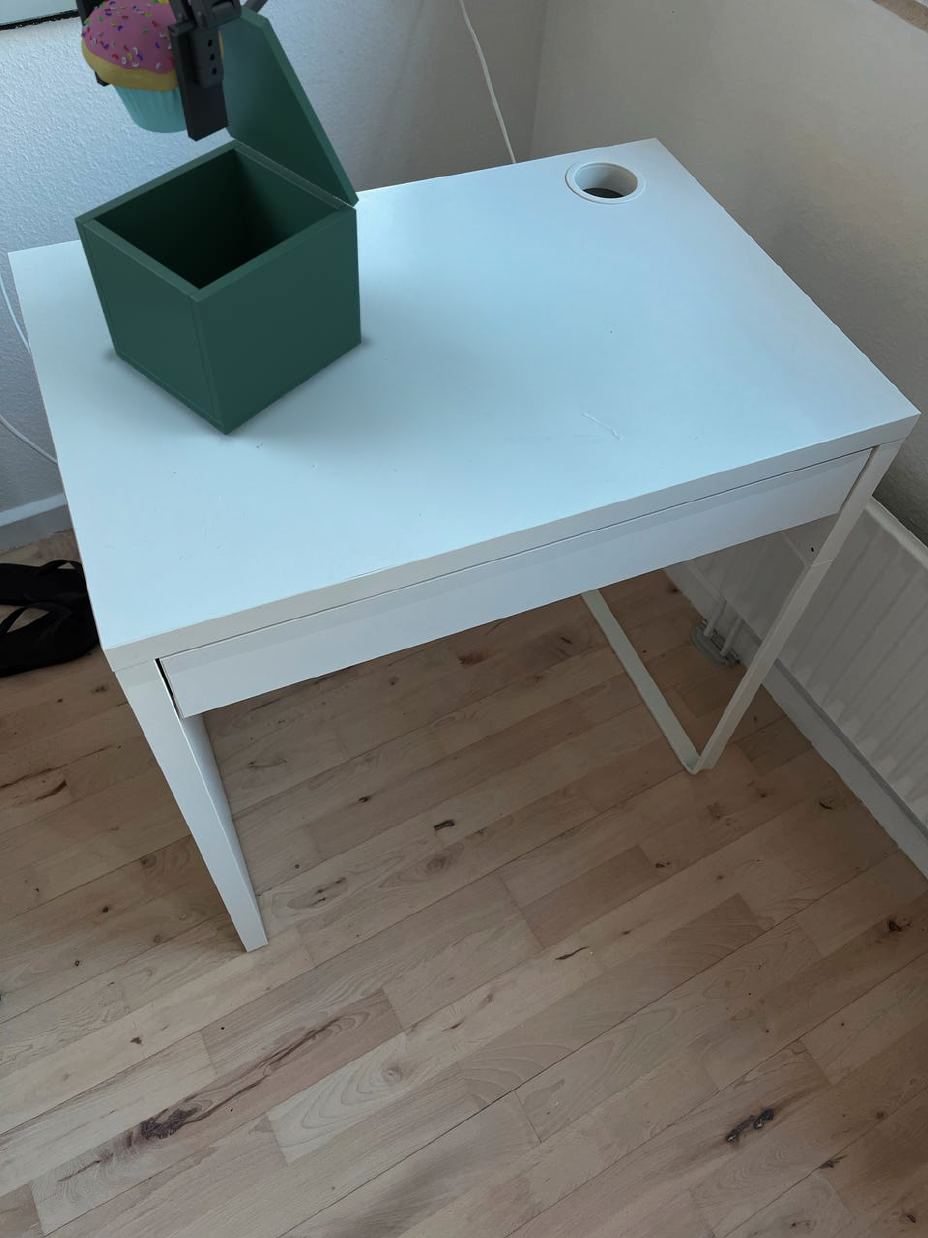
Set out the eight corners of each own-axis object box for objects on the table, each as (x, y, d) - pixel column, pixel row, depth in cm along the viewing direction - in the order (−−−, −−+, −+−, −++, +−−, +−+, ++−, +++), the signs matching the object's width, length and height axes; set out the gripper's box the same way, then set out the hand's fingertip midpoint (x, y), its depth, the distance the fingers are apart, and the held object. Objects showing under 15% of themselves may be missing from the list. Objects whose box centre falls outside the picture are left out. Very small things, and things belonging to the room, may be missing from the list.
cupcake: (221, 77, 65) (190, -134, 55) (244, 142, 61) (214, -73, 51) (94, 89, 63) (37, -126, 54) (107, 158, 59) (49, -63, 49)
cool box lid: (260, 27, 57) (345, -78, 58) (113, -48, 62) (193, -145, 62) (353, 207, 73) (419, 124, 73) (230, 136, 78) (294, 58, 78)
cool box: (225, 435, 77) (198, 301, 66) (116, 355, 81) (73, 217, 71) (361, 342, 84) (356, 209, 73) (254, 273, 89) (234, 138, 78)
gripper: (281, -360, 41) (317, 146, 60) (-8, -452, 48) (106, 27, 67) (143, -335, 37) (227, 194, 56) (-147, -439, 44) (14, 63, 63)
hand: (161, 103), depth 61 cm, fingers closed on cupcake, 8 cm apart
